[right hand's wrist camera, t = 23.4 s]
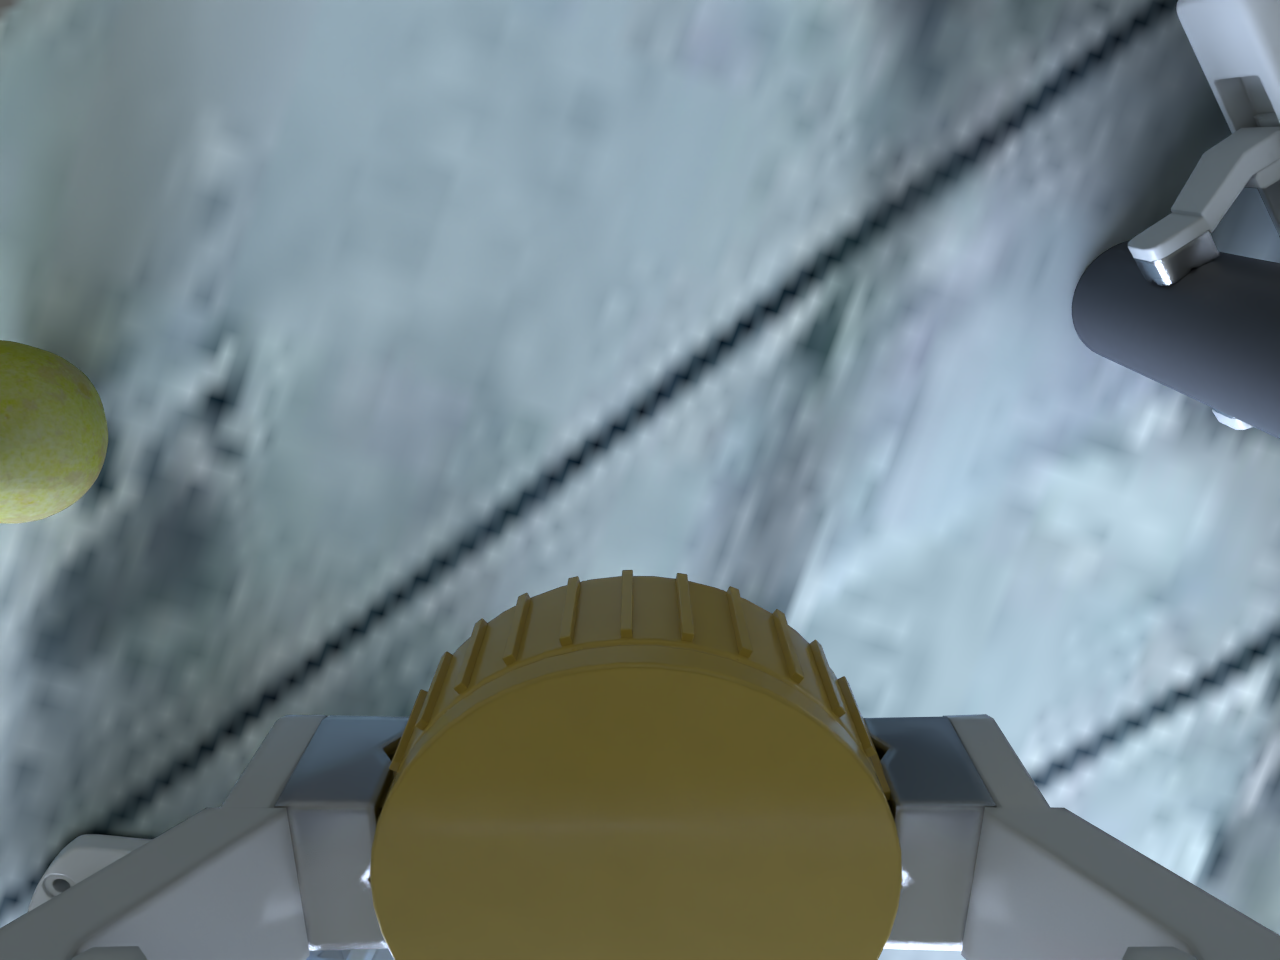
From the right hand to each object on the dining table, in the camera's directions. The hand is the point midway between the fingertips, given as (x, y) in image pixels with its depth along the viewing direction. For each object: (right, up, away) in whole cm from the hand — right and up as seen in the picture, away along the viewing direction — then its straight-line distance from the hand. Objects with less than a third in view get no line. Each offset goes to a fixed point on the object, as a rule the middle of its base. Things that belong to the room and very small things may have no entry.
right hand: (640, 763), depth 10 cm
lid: (0, -1, -2) cm, 2 cm away
